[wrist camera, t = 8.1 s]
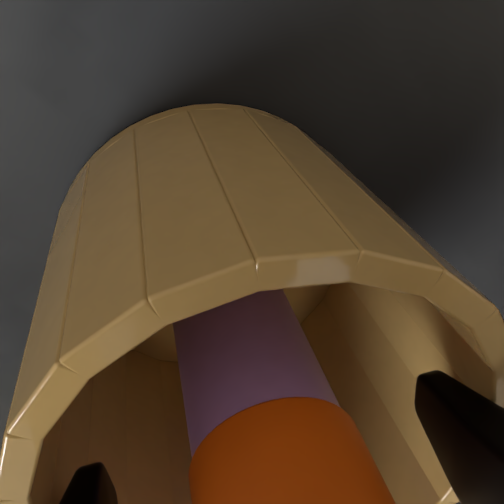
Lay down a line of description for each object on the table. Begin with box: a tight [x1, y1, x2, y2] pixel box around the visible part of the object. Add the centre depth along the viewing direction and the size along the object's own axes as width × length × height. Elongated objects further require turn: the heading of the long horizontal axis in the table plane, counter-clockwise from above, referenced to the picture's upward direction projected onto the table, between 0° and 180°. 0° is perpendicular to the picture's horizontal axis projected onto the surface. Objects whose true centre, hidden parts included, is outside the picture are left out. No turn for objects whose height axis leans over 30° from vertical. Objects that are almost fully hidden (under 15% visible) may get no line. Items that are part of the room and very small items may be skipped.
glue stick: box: [173, 289, 396, 504], centre depth 10 cm, size 3×3×9 cm
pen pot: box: [0, 103, 504, 504], centre depth 11 cm, size 9×9×8 cm
